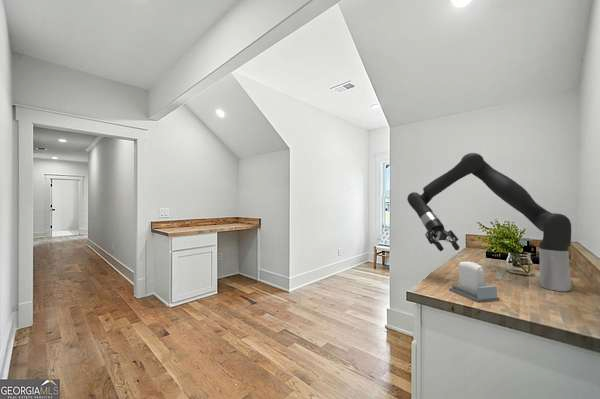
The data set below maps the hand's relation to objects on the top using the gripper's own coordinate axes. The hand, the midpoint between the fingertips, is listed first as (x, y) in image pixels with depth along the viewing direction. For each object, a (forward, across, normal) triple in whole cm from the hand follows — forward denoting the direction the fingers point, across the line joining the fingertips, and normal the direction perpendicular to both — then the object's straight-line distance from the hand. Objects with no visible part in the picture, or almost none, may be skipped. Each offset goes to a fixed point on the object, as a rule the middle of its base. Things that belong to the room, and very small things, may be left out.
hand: (450, 249), depth 116 cm
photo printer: (+19, 0, +4) cm, 19 cm away
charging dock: (+20, 0, +4) cm, 20 cm away
